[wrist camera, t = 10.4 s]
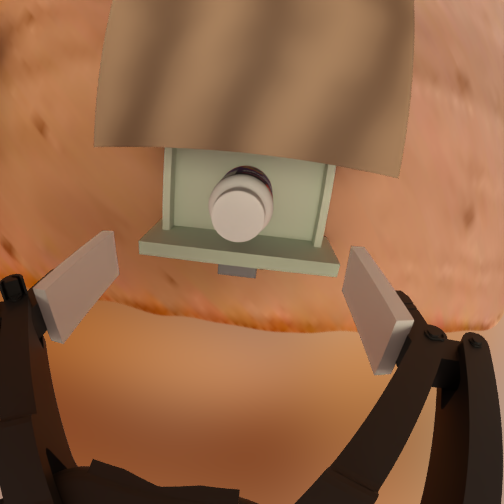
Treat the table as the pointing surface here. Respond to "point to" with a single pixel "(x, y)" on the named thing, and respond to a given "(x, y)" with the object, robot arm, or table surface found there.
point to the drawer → (268, 240)
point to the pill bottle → (241, 204)
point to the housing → (260, 78)
